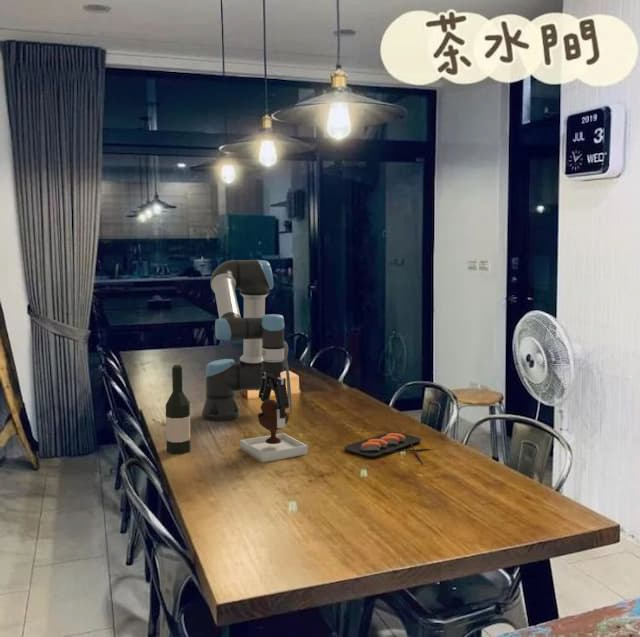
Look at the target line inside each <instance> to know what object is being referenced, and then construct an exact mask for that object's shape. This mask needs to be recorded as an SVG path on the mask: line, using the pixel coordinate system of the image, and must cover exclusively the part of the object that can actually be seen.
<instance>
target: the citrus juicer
mask: <svg viewBox="0 0 640 637" xmlns="http://www.w3.org/2000/svg"><path fill="white" fill-rule="evenodd" d="M288 354H289V345H288V343H287V341H285V340H284V359H283V361H284V368H285V375H286V376H285V378H286V390H287V397H288V403H289V413H290V414H289V415H292V414H293V406H292V405H293V403H292V389H291V388H292V387H291V378H290V371H289V370H290V369H289V363H288V356H289V355H288ZM269 398H270V399H271V395H270V396H269Z"/></svg>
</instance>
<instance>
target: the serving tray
mask: <svg viewBox="0 0 640 637" xmlns="http://www.w3.org/2000/svg"><path fill="white" fill-rule="evenodd" d="M270 437H271V434H270V435H269V434H268V435H264V436H257V437H253V438H246V439H240V440H239V441H240V442H239V444H240V445H239V446H240V447H239V448H240V449H241V450H242V451H243V452H245V453H246V454H248V455H250V456H251V457H252V458H254V459H256V460H258V461H259V462H261V463H266V462H270V461H271V462H272V461H276V460H282V459H283V460H284V459H287V458H288V459H289V458H294V457H298V456H305V455H308V453H309V452H308V449H309V448H308V445H307V444H306V443H304V442H301V441H300V440H297V439H296V438H294V437H292V436H290V435H289V434H286V433H284V432H283V433H278V434H277V433H276V437H277V438H279V439H281V443H278V444H268V443H266V439H268V438H270Z"/></svg>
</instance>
